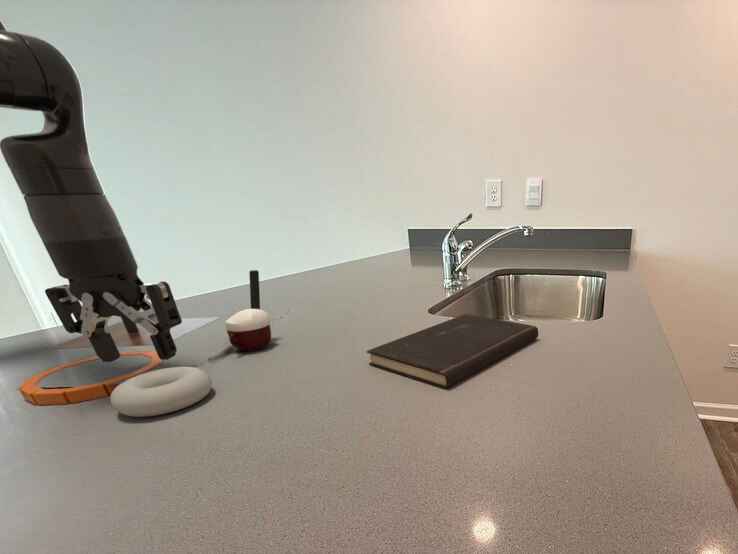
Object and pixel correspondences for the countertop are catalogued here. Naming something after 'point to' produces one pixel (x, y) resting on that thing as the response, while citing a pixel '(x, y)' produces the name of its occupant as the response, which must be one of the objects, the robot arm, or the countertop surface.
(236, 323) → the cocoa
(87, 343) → the post board
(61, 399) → the ring
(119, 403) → the donut
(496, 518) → the countertop surface
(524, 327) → the hardcover book
